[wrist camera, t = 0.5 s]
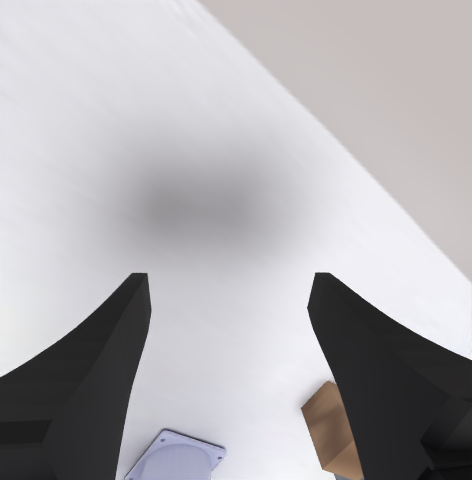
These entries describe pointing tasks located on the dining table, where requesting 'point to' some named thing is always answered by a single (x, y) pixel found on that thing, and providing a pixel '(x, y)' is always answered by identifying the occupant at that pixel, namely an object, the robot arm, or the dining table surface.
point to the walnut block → (332, 432)
